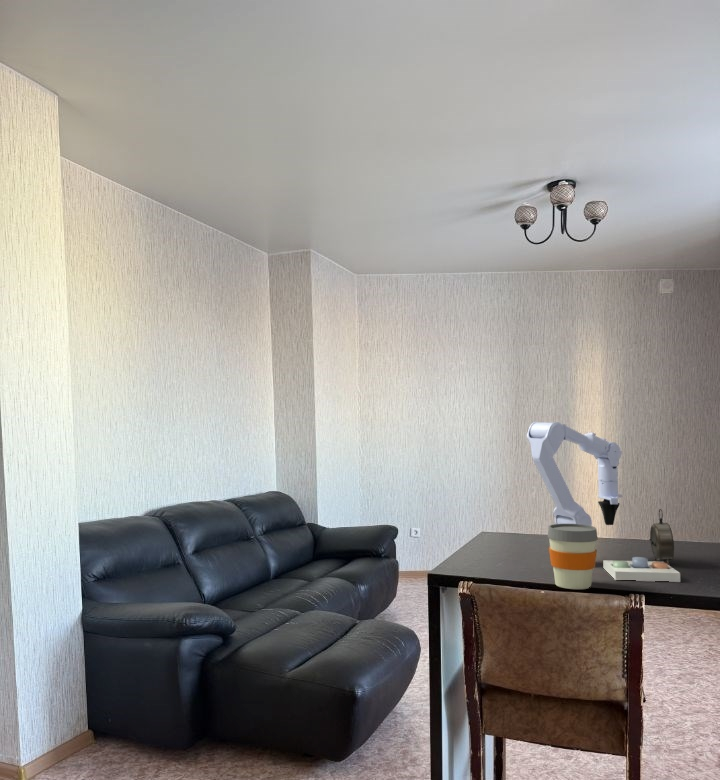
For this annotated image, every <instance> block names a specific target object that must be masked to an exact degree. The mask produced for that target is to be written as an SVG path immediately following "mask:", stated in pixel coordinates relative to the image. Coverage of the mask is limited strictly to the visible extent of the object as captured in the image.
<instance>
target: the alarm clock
mask: <svg viewBox="0 0 720 780" xmlns="http://www.w3.org/2000/svg"><path fill="white" fill-rule="evenodd" d="M658 509H659V510H658V520H659V522H658V523H657V522H656V523H653V524H652V525H651V527H650V530H649V531H650V532H649V537H650V538H649V539H648V540H649V541H650V548H651V551H652V554H653V557H654V560H653V561H658V562H664V561H666V562H665V563H667V564H668V565H669V566H670V561H673V559H674V557H675V542H674V536H673V535H674V534H673V531H672V528H671V526H670V524H669V523H668V522H664V521H663V516H664V515H663V513H664V512H663V509H662V508H658ZM660 513H661V515H660ZM670 567H671V566H670Z"/></svg>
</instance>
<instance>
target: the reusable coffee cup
mask: <svg viewBox="0 0 720 780" xmlns="http://www.w3.org/2000/svg"><path fill="white" fill-rule="evenodd" d="M547 538H548V540H549V546H548V553H549V559H550V565H551V566H552V569H553V574H554V576H553V577H554V584H555V585H556V587H559V588H563V589H569V590H586V589H590V588H591V587H590V586H592V581H593V572H594V569H595V568H596V562H597V553H598V552H597V551H598V550H597V549H596V546H597V541H598V531H597V528H596V527H595V526H589V525H582V524H554V523H553V524H549V525H548V529H547ZM589 587H590V588H589Z"/></svg>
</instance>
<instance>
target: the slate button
mask: <svg viewBox="0 0 720 780" xmlns="http://www.w3.org/2000/svg"><path fill="white" fill-rule="evenodd" d="M648 560H649V559H648V557H644V556H643V557H642V556H632V558H631V561H632V567H633V568H648Z"/></svg>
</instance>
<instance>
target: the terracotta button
mask: <svg viewBox="0 0 720 780" xmlns="http://www.w3.org/2000/svg"><path fill="white" fill-rule="evenodd" d="M652 568H653V569H668V564H667V562H665V563H664V561H657V562H652Z"/></svg>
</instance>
